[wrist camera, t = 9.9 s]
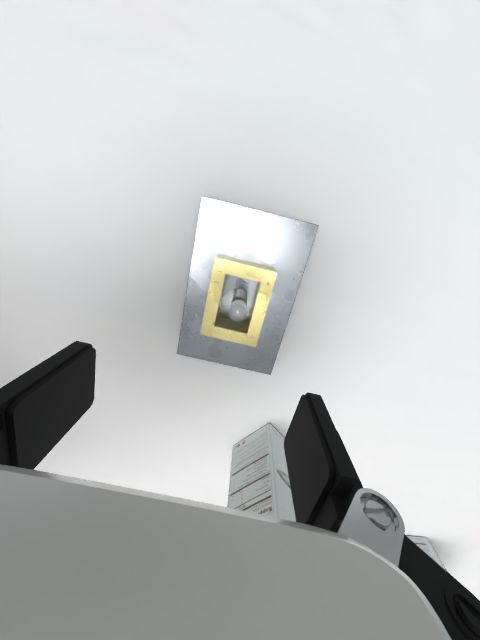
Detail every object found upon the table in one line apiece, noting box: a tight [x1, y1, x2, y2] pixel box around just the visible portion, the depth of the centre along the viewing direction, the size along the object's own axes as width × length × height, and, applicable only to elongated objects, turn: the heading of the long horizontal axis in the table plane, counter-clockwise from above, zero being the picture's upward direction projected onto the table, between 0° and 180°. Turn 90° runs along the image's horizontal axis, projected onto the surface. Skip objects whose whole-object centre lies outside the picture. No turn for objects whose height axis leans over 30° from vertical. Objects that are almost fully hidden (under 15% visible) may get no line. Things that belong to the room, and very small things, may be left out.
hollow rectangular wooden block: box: [200, 254, 277, 347], centre depth 26 cm, size 8×6×4 cm
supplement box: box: [227, 423, 296, 522], centre depth 30 cm, size 7×7×13 cm
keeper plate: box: [177, 196, 318, 375], centre depth 25 cm, size 18×12×7 cm, turn 167°
